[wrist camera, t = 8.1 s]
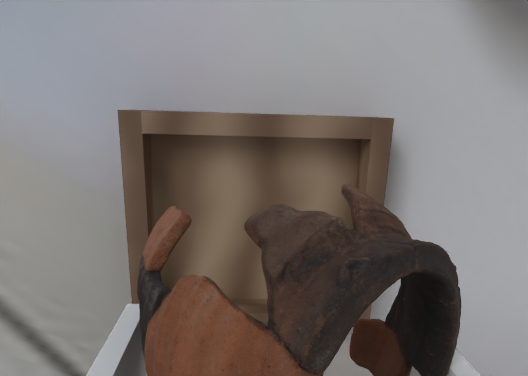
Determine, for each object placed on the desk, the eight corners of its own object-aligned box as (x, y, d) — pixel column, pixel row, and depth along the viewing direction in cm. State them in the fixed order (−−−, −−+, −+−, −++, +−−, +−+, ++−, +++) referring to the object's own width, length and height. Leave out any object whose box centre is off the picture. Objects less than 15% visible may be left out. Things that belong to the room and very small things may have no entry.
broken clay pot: (178, 121, 12) (361, 134, 5) (330, 206, 18) (510, 263, 11) (29, 438, 11) (24, 926, 4) (240, 420, 17) (375, 622, 10)
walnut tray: (144, 310, 28) (134, 332, 25) (131, 109, 24) (117, 110, 21) (356, 306, 30) (368, 326, 27) (377, 117, 26) (394, 118, 23)
